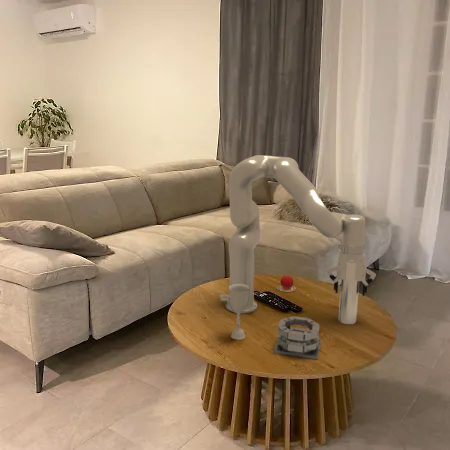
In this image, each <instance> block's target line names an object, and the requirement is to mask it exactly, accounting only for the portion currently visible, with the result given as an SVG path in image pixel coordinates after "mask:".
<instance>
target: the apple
mask: <svg viewBox="0 0 450 450" xmlns="http://www.w3.org/2000/svg"><path fill="white" fill-rule="evenodd" d="M276 289H277V290H278V291H280V292H286V293H289V292H294V291H296V287H295V286H294V278H292V276H290V275H285V274H284V275H283V276H282V277H281V279H280V284H279V285H277V287H276Z"/></svg>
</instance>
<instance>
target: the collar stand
mask: <svg viewBox="0 0 450 450" xmlns="http://www.w3.org/2000/svg"><path fill="white" fill-rule="evenodd" d="M294 325H297V326H305V327H307V328H303V327H297V326H296V327H295V326H294ZM291 326H292V327H291ZM293 326H294V327H293ZM319 332H320V323H318V322H316V321H314V319H313V320H312V319H311V318H309V317H301V316H295V315H294V316H289V317H285V318H281V319H280V320H279V321H278V325H277V333H278V335H277V337H276V344H275V345H274V349H273V354H277V355H285V356H289V357H290V356H291V357H299V358H304V359H311V360H318V358H319V357H318V356H319V351H320V347H321V342H322V340H321V339H320V338H319V337H320V336H319Z"/></svg>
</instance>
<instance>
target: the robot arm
mask: <svg viewBox="0 0 450 450" xmlns="http://www.w3.org/2000/svg"><path fill="white" fill-rule="evenodd" d="M299 168H300V167H299V165H298V162H297V161H296V160H295V159H293V158H292V157H288V156H286V157H285V156H274V155H265V154H264V155H262V154H257V155H253V156H251V157H247V158H246V159H244V160H243V159H242V161H240V162H238V163H237V164H236V165H235V166H234V167H233V168H232V170H231V172H230V175H229V178H228V179H229V180H228V181H229V182H228V185H229V187H228V188H229V190H228V191H229V217H230V222H231V223H232V224H233V226H235V227H236V231H235V232H234V233H233V234H232V235H231V236H230V238H229V241H228V253H229V286H231V285H234V284H245V285H247V286H249V289H248V295H247V304H246V306H245V308H244V310H243V312H242V313H241V314H250V313H252V312H255V311H256V310H257V309H258V303H257V302H256V301H255V300H254V298H255V296H254V293H255V290H254V289H255V254H254V253H255V252H254V251H255V248H256V247H257V245H258V243H259V242H260V237H261V234H260V233H261V231H260V230H261V227H260V210H259V206H258V204H257V203H256V201H254V200H253V190H252V183H253V182H254V181H256V180H260V179H261V178H268V179H275V180H276V181H277V182H278V183H279V184H280V186H281V187H282V188H283V189H284V190H285V191H286V192H287V194H289V195H290V197H291V198H292V199H293V200H294V201H295V202H296V204H297V205H298V206H299V208H300V209H301V211H302V212H303V214H304V215H305V216H306V218H307V219H308V221H309V222H310V223H311V224H312V225H313V227H315V228H316V229H317V230H318V231H319V233H320V234H321V235H323V236H324V237H325V238H329V239H334V238H337V237H338V236H340V235H341V234H342V243H341V244H338V245H337V249H340V251H339V254H338V258H337V265H335V266H332V267H330V268H327V270H326V272H327V274H328V276H329V278H330V280H331V281H332V282H333V291H335V294H338V292H339V281H341V280H346V266H347V262H349V260H354V261H353V262H355V263H356V269H355V273H356V274H355V281H359V282H362V291H361V292H362V293H361V296H362V297H365V294H367V293H368V291H367V290H368V289H367V288H368V286H369V285H370V284H371V283H372V282H373V281H374V279H375V278H376V276H377V273H375V272H374V271H372V270H370V269H369V268H367V255H366V253H365V252H364V251H365V249H364V247H365V234H366V218H365V216H363V215H361V214H353V213H352V214H344V213H340V212H336V211H330V210H329V209H328V208H327V206H326V205H325V204H324V202H323V201H322V199H321V196H320V195H319V192H318V190H317V188H316V186H314V184H313V183H312V182H311V181H310V180H309V179H308V178H307V177H306V176H305V174H304V173H303V172H302V171H301V170H300V169H299ZM335 271H336V276H335V275H334V274H333V272H335ZM367 274H368V275H369V276H370V277H368V278H366V276H367ZM219 300H220V301H221V302H226V303H225V308H226V309H227V310H228V311H229V312H230V313H231V312H232V313H234V314H236V313H235V312H234V310H233V308H232V305H231V302H230V294H221V293H220V294H219Z"/></svg>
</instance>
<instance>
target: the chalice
mask: <svg viewBox="0 0 450 450" xmlns="http://www.w3.org/2000/svg"><path fill="white" fill-rule="evenodd" d="M228 289H229V295H230V302H231V305H232V308H233V310H234V312H235V313H234V312H233V313H234V314H236V317H235V318H236V322H235V324H236V328H234V329H233V330H232V333H231V335H230V337H231V338H232V339H234V340H243V339H245V338H246V334H245V331H244V329H242V328H241V327H240V325H241V324H242V323H241V320H242V318H241V314H243V313H242V312H243V310H244V308H245V306H246V304H247V295H248V289H249V286H247V285H245V284H234V285H231V286H230V285H229V286H228Z"/></svg>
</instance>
